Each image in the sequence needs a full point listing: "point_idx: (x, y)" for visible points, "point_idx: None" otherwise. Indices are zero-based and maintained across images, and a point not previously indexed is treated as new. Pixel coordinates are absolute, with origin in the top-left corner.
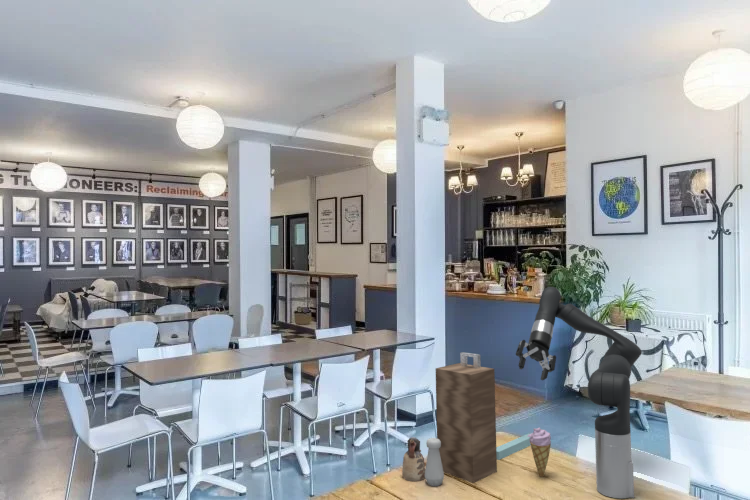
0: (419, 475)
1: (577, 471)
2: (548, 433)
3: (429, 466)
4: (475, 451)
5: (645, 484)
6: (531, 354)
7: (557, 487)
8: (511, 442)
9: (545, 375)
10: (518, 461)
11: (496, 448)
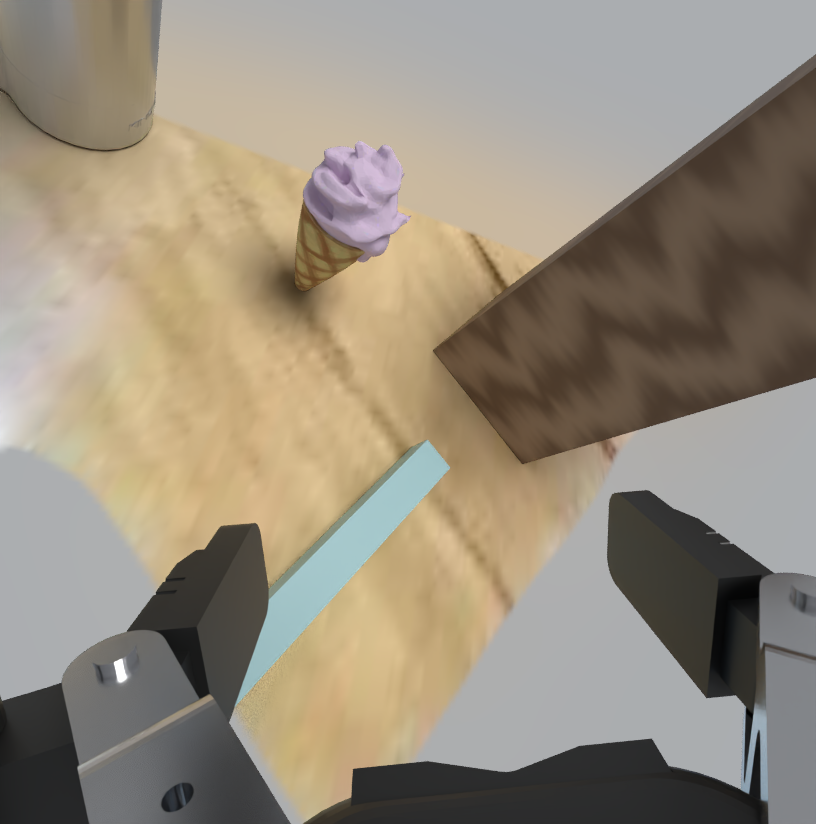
0: None
1: (134, 283)
2: (335, 149)
3: None
4: (552, 254)
5: None
6: (740, 798)
7: (280, 198)
8: (355, 554)
9: (218, 545)
10: (345, 423)
11: (429, 479)
